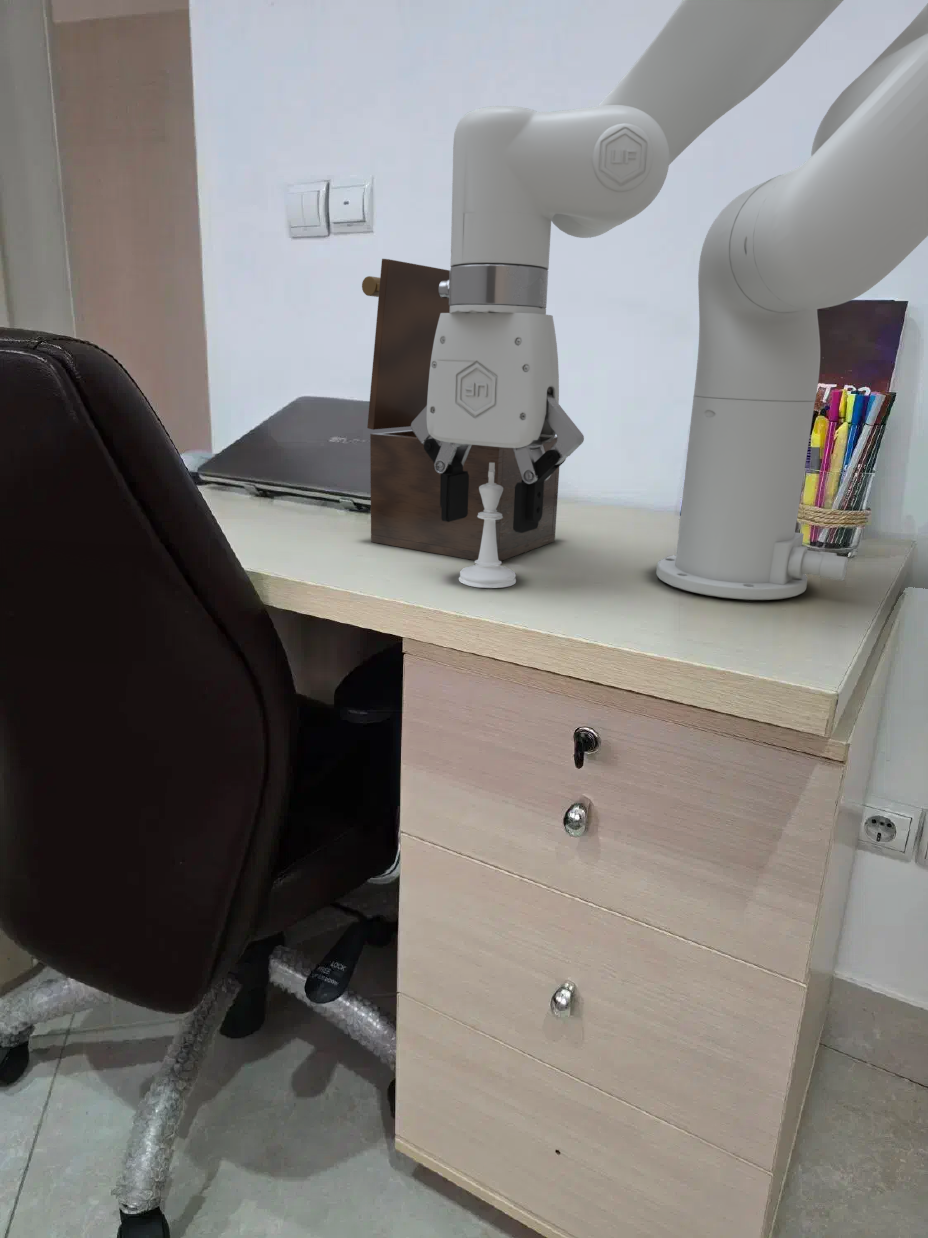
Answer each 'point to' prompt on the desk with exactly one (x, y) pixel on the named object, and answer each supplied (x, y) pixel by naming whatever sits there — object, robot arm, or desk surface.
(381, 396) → the lid
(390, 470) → the box
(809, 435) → the robot arm
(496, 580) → the chess piece
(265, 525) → the desk surface
